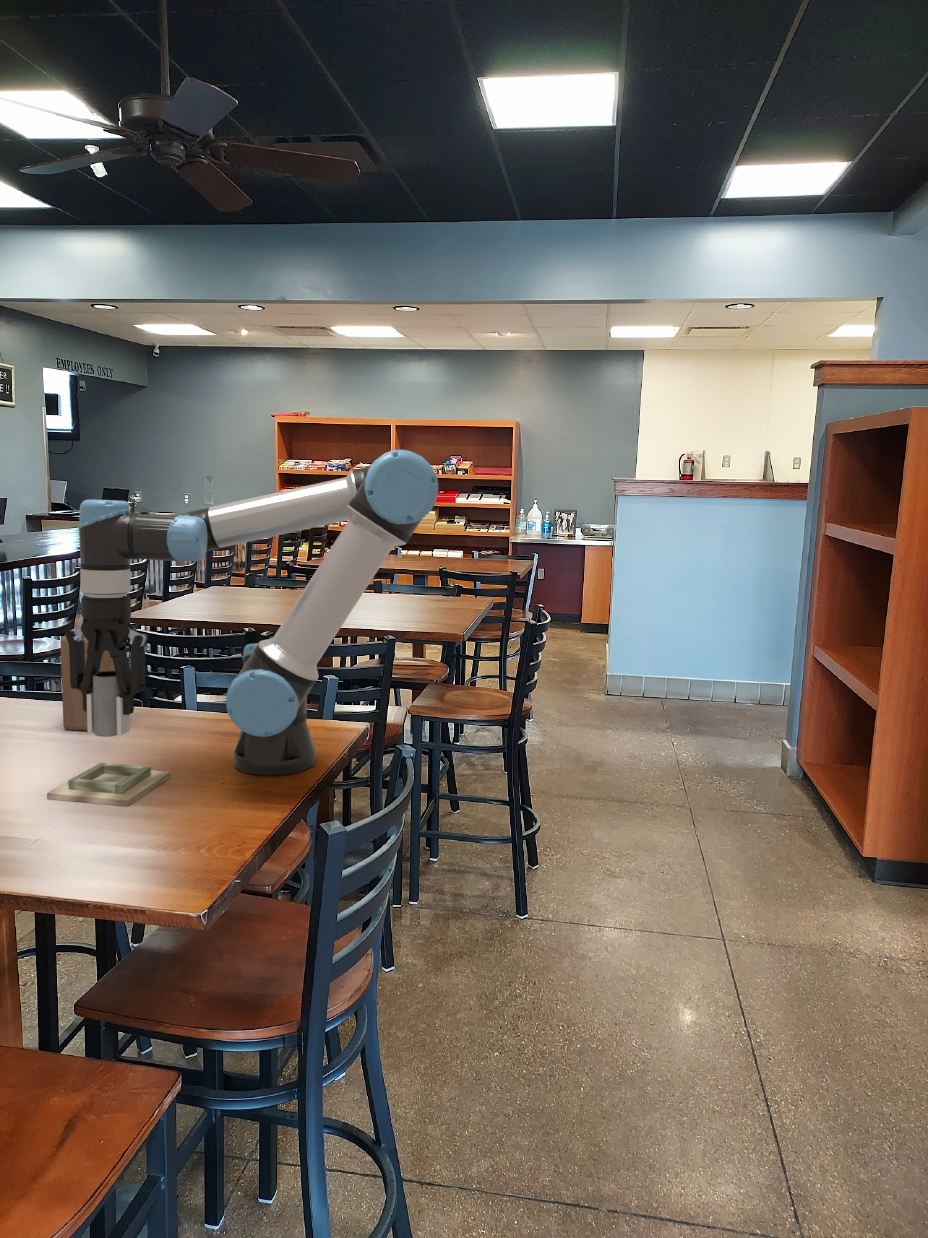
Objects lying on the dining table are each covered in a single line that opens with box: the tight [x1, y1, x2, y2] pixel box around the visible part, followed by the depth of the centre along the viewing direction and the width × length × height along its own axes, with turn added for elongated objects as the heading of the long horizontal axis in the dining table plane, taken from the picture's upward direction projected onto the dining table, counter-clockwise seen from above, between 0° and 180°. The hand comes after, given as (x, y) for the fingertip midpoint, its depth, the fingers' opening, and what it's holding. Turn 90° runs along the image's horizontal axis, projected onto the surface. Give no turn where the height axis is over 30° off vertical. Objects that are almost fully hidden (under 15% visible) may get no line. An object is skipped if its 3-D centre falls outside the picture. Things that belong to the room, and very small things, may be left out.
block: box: [60, 635, 118, 732], centre depth 172 cm, size 10×10×20 cm
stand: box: [46, 762, 171, 807], centre depth 138 cm, size 14×14×2 cm
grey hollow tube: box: [93, 671, 121, 738], centre depth 136 cm, size 4×4×10 cm
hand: (108, 731), depth 137 cm, fingers closed on grey hollow tube, 4 cm apart
